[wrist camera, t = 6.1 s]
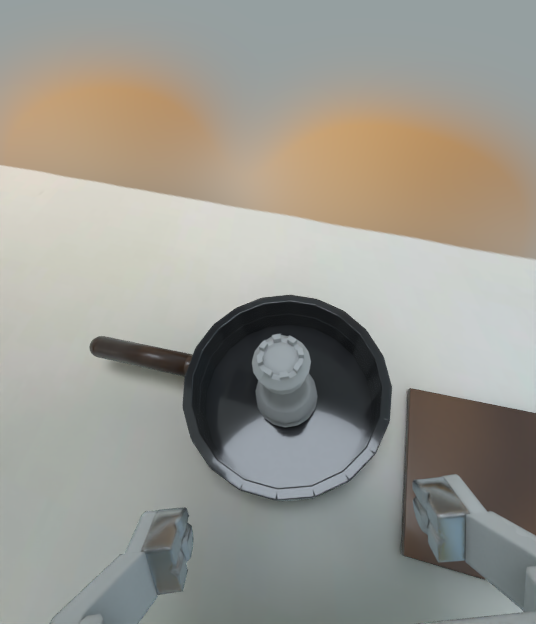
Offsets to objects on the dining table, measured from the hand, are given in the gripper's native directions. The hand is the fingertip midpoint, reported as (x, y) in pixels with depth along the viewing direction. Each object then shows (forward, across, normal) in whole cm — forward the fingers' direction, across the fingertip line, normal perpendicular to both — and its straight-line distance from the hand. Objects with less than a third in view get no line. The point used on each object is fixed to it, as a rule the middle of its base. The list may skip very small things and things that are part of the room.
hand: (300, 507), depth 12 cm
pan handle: (+13, +10, -2) cm, 17 cm away
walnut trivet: (+8, -12, +8) cm, 16 cm away
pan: (+12, 0, +3) cm, 13 cm away
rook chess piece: (+12, 0, +3) cm, 13 cm away
